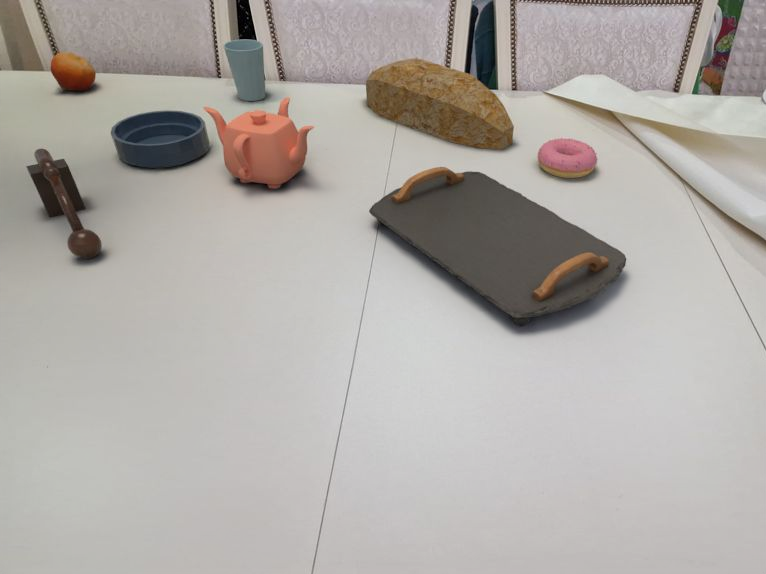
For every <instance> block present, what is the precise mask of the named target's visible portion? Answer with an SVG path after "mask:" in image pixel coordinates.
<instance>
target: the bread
mask: <svg viewBox="0 0 766 574" xmlns="http://www.w3.org/2000/svg"><path fill="white" fill-rule="evenodd" d="M365 93H366V105H367V107H368V108H369V109H371V111H373V112H374V113H375V114H376V115H378V116H379V117H381V118H384V119H387V120H389V121H392V122H395V123H397V124H400V125H403V126H405V127H408V128H411V129H414V130H417V131H419V132H423V133H424V134H428V135H431V136H433V137H435V138H439V139H442V140H444V141H447V142H450V143H453V144H458V145H463V146H468V147H474V148H479V149H480V148H481V149H490V150H491V149H492V150H498V151H499V150H500V151H501V150H503V149H506V148H507V147H509V146H511V145H512V144H513V138H514V127H515V125H514V123H513V122H512V120H511V117H510V116H509V114H508V111H507V109H506V108H505V104H504V103H503V102H502V101H501V99H500V98H499V97H498V95H497V94H496V93H495V92H494V91H492V90H491V89H489V88H488V87H487V86H486V85H485V84H484V83H482V82H481V81H480V80H479V79H478V78H477V77H476V76H474V75H473V74H471V73H468V72H465V71H461V70H459V69H454V68H451V67H448V66H445V65H441V64H438V63H434V62H431V61H428V60H424V59H422V58H418V57H414V58H409V59H403V60H398V61H394V62H391V63H389V64H386V65H382V66H381V67H379V68H376V69H375V70H373V71H371V73H370V74H369V75H368V77H367V78H366V80H365Z"/></svg>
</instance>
